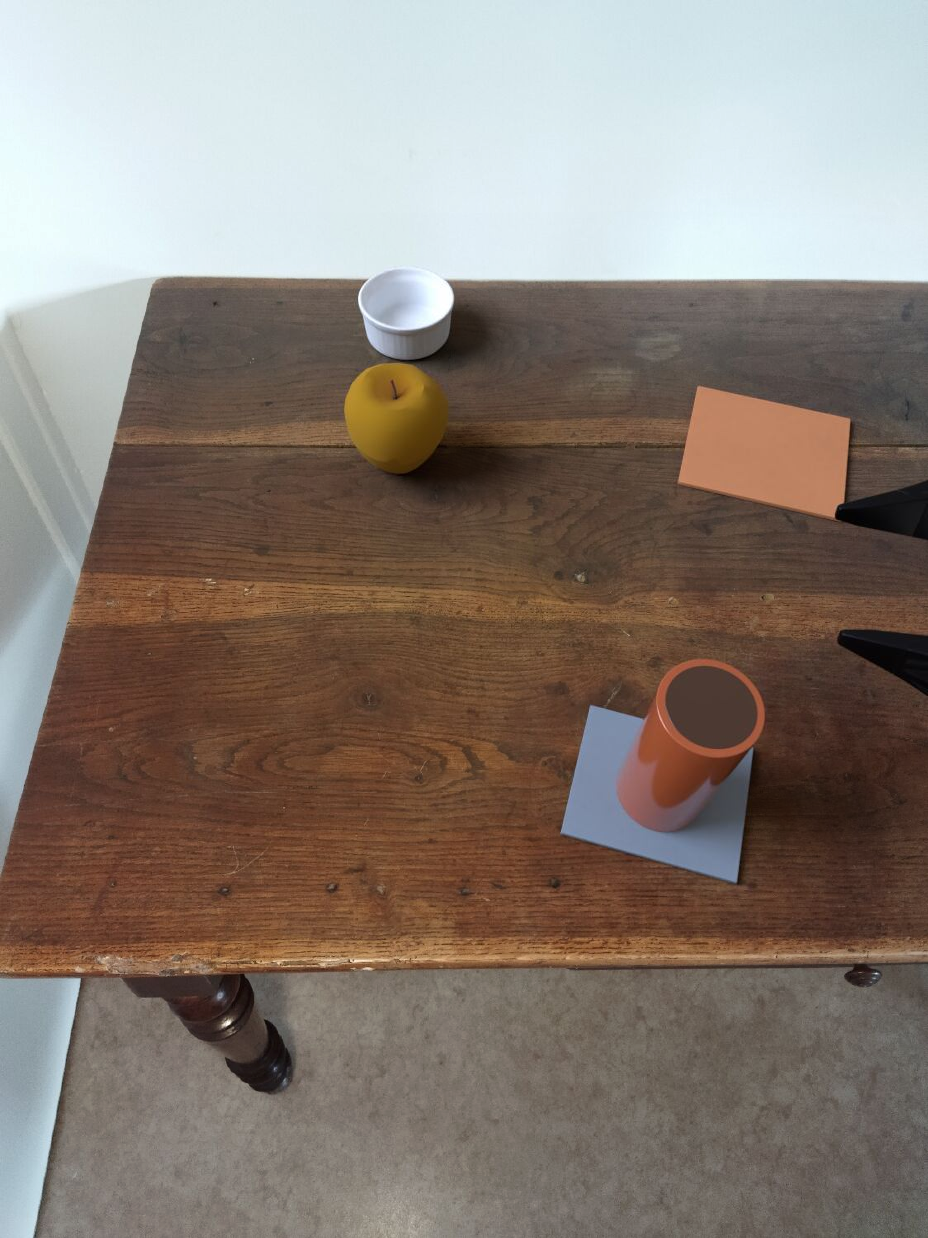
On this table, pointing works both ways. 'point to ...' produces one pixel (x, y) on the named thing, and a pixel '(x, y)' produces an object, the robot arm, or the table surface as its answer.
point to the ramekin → (406, 312)
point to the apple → (396, 416)
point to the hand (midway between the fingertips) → (837, 571)
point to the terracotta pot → (689, 743)
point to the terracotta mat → (766, 453)
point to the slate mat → (606, 823)
